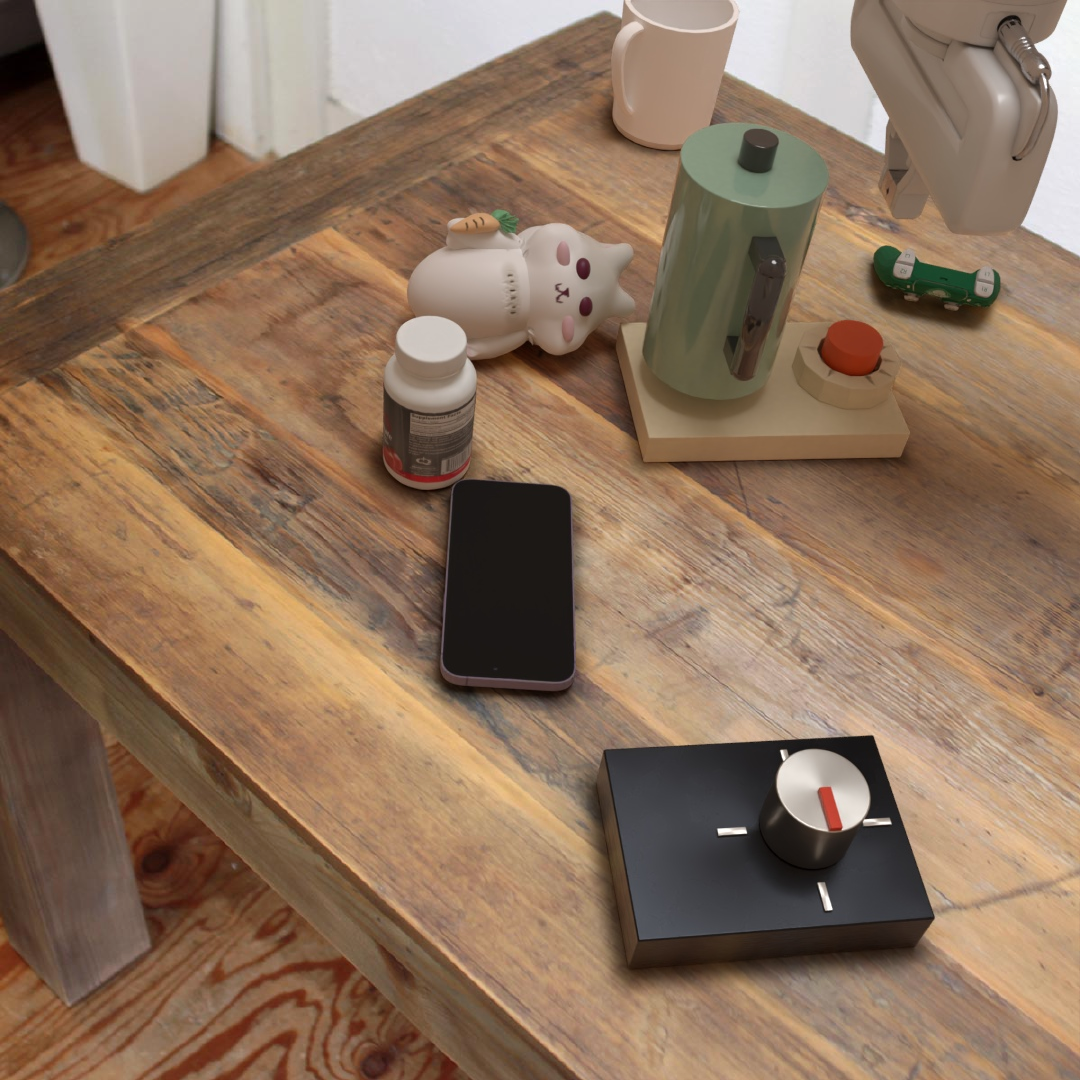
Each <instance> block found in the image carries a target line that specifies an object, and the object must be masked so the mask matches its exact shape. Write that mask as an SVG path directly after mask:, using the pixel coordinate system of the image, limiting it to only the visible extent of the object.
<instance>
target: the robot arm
mask: <svg viewBox="0 0 1080 1080" xmlns="http://www.w3.org/2000/svg"><path fill="white" fill-rule="evenodd" d="M1067 3H1068V0H854V2H853V6H852V10H851V16H850V24H849V25H850V27H849V28H850V30H849V35H850V36H849V37H850V47H851V50H852V51H853V53H854V55H855V56H856V59H857V60H858V62H859V64H860V66H861V67H862V70H863V72H864V73H865V75H866V77H867V79H868V82H869V83H870V84H871V86H872V88H873V91H874V92H875V94H876V96H877V98H878V100H879V101H880V102H879V103H880V104H881V105H882V108H883V109H884V111H885V113H886V115H887V117H888V119H887V123H886V126H885V140H884V141H885V142H884V161H883V162H884V166H883V168H882V171H881V174H880V177H879V180H878V183H877V188H878V189H879V191H880V193H881V195H882V197H883V199H884V201H885V203H886V205H887V207H888V208H887V209H888V211H889V212H890V214H891V216H892V218H894V219H895V220H916V219H918V218H919V217H920V216H921V215H922V213H923V211H924V208H925V206H926V203H927V200H928V198H929V196H930V198H931V199H932V201H933V203H934V206H935V207H936V209H937V211H938V213H939V215H940V216H941V218H942V220H943V222H944V224H945V226H946V228H947V229H948V230H949V232H950V233H952V234H955V235H960V236H974V237H975V236H977V237H986V236H987V237H992V236H993V237H996V236H1005V235H1008V234H1010V233H1013V232H1014V231H1015V230H1017V229H1018V228H1020V227H1021V225H1022V224H1023V222H1024V221H1025V218H1027V215H1028V213H1029V210H1030V207H1031V205H1032V203H1033V201H1034V197H1035V194H1036V192H1037V189H1038V187H1039V184H1040V181H1041V178H1042V175H1043V172H1044V170H1045V166H1046V163H1047V161H1048V158H1049V154H1050V151H1051V148H1052V144H1053V142H1054V139H1055V134H1056V129H1057V125H1058V119H1059V118H1058V117H1059V106H1058V99H1057V97H1056V94H1055V92H1054V89H1053V88H1052V86H1051V84H1050V82H1049V81H1050V79H1051V78H1052V74H1053V72H1052V68H1051V65H1050V63H1049V60H1048V59H1047V58H1046V57H1045V56H1044V54H1043V53H1041V52H1039V50H1038V49H1037V47H1036V45H1037V44H1039V43H1041V42H1043V41H1045V40H1047V39H1048V38H1049V37H1050V36H1052V35H1053V33H1054V32H1055V30H1056V29H1057V26H1058V24H1059V21H1060V19H1061V17H1062V14H1063V12H1064V9H1065V8H1066V5H1067Z"/></svg>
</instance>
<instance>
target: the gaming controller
mask: <svg viewBox="0 0 1080 1080" xmlns="http://www.w3.org/2000/svg"><path fill="white" fill-rule="evenodd" d="M916 255H917V254H916V251H915V250H914V249H913V248H905V249H904V250H903V251H901V250H899V249H898V248H897V247H895V246H892V245H887V244H885V245H881V246H880V247H878V248H877V249H876V250H875V251H874V254H873V257H872V259H873V268H874V270H875V273H876V276H877V277H878V279H879V280H880V281H881V282H882V283H883V284H884V286H885V287H890V289H892V290H899V289H900V290H901V293H903V294H904V295H903V298H904V300H906V301H910V302H918V301H919V300H920V298H921V297H923V296H924V295H926V296H927V295H928V296H932V297H935V298H936V297H938V298H941V301H942V303H944V304H943V307H944V309H945V310H949V311H958V310H959V309H960V307H962V306H963V305H969V306H970V307H976V308H977V307H981V308H989V307H991V305H993V303H995V301H996V300H997V299H998V296H999V294H1000V292H1001V289H1002V287H1001V286H1002V285H1001V284H1002V283H1001V275H1000V273H999V272H998V271H997V270H996V269H994V268H993V267H991V266H990V265H984V266H982V267H981V268H979V269H976V270H975V271H973V272H971V273H970V272H967V271H962V270H957V269H953V268H948V267H945V266H939V265H934V264H931V263H926V262H922V261H920V260H919V259H918V257H917V256H916Z"/></svg>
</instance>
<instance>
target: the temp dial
mask: <svg viewBox="0 0 1080 1080" xmlns="http://www.w3.org/2000/svg"><path fill="white" fill-rule="evenodd" d="M870 801H871V798H870V791H869V787H868V784H867V782H866V780H865V778H864V776H863V775H862V773H861V772H860V771H859V770H858V768H857V767H856V766H855V765H853V764H852V763H851V762H850V761H849V760H847V759H846V758H844V757H842V756H840V755H838V754H836V753H834V752H831V751H827V750H822V749H806V750H801V751H798V752H796V753H794V754H792V755H790V756H789V757H787V758H786V759H785V760H784V761H783V762H782V764H781V765H780V767H779V769H778V771H777V773H776V776H775V778H774V780H773V783H772V785H771V787H770V790H769V792H768V794H767V796H766V799H765V801H764V803H763V806H762V808H761V811H760V817H759V823H760V829H761V832H762V835H763V837H764V840H765V841H766V843H767V845H768V846H769V847H770V848H771V850H772V851H773V852H774V853H775V854H776V855H778V856H779V857H780V858H781V859H783V860H785V861H786V862H788V863H790V864H792V865H795V866H798V867H801V868H807V869H819V868H825V867H828V866H831V865H833V864H835V863H836V862H838V861H839V860H840V859H841V858H842V857H843V856H844V855H845V853H846V852H847V850H848V848H849V846H850V845H851V843H852V841H853V839H854V837H855V835H856V834H857V832H858V830H859V828H860V826H861V824H862V823H863V821H864V819H865V817H866V815H867V813H868V811H869V808H870Z"/></svg>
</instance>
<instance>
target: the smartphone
mask: <svg viewBox="0 0 1080 1080" xmlns="http://www.w3.org/2000/svg"><path fill="white" fill-rule="evenodd" d="M449 505H450V506H449V518H448V519H449V520H448V534H447V536H448V537H447V550H446V551H447V552H446V566H445V567H446V568H445V581H444V582H445V584H444V593H443V602H442V605H443V606H442V628H441V629H442V631H441V643H440V644H441V647H440V659H439V669H440V673H441V676H442V677H443V679H444V680H446V681H447V682H448V683H450V684H453V685H456V686H462V687H463V686H466V687H480V688H481V687H482V688H495V689H515V690H530V691H543V692H544V691H546V692H559V691H564V690H567V689H568V688H569V687H570V686H571V685H572V684H573V683H574V680H575V676H576V670H577V641H576V601H575V569H574V568H575V566H574V529H573V528H574V524H573V498H572V494H571V493H570V491H568V489H566V488H565V487H563V486H560V485H557V484H551V483H535V482H523V481H522V482H521V481H507V480H495V479H481V478H463V479H459V480H458V481H457V482H455V483H453V485H452V488H451V491H450V504H449Z"/></svg>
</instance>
